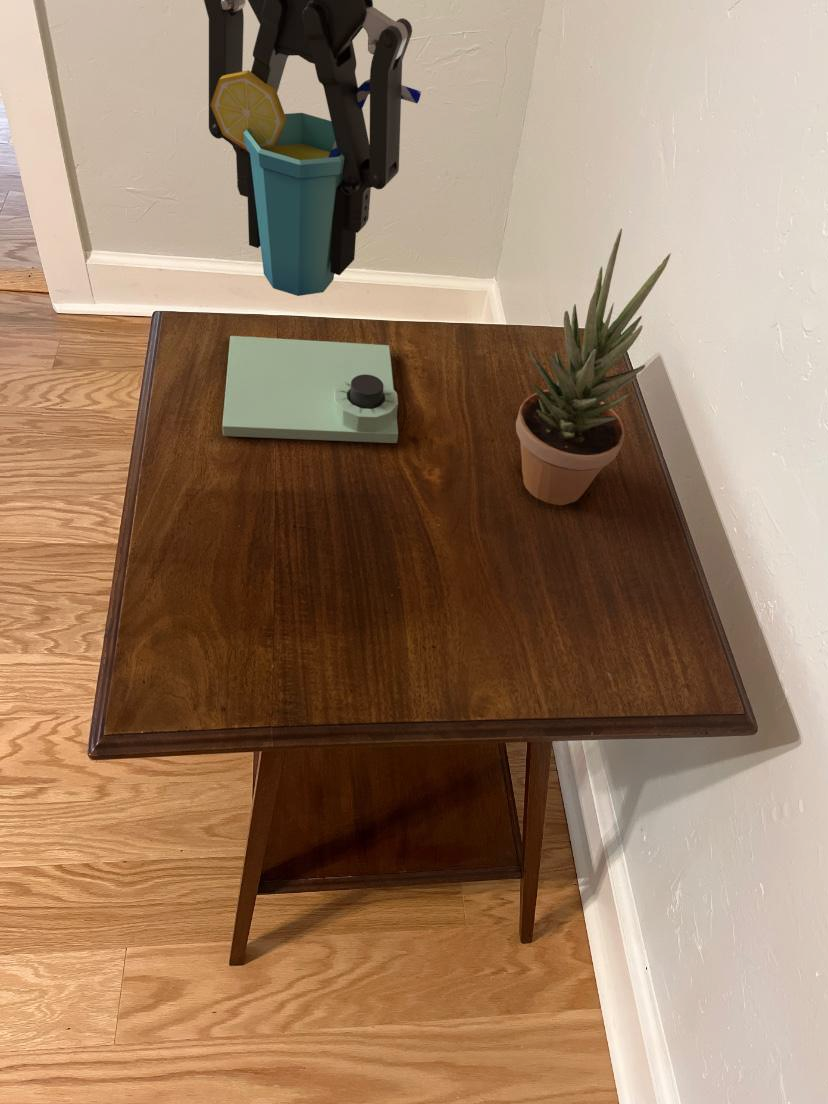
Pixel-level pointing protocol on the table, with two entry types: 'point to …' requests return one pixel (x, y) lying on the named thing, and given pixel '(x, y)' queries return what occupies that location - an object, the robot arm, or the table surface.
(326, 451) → the table surface
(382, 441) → the scale
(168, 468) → the table surface
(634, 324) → the potted plant
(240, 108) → the cup
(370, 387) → the tare button
